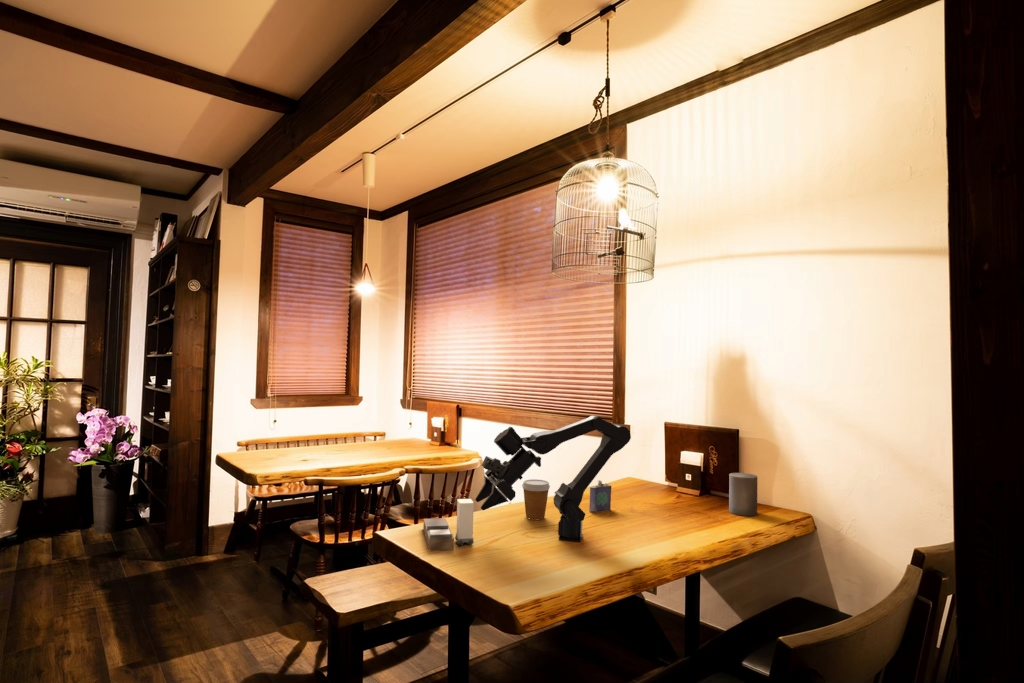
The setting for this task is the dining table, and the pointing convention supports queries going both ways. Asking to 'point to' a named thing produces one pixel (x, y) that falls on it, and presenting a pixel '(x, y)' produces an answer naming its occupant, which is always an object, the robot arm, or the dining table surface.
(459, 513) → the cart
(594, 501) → the flask
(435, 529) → the dock
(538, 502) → the disposable coffee cup
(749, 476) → the pillar candle
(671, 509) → the dining table surface
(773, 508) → the dining table surface
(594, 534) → the dining table surface
